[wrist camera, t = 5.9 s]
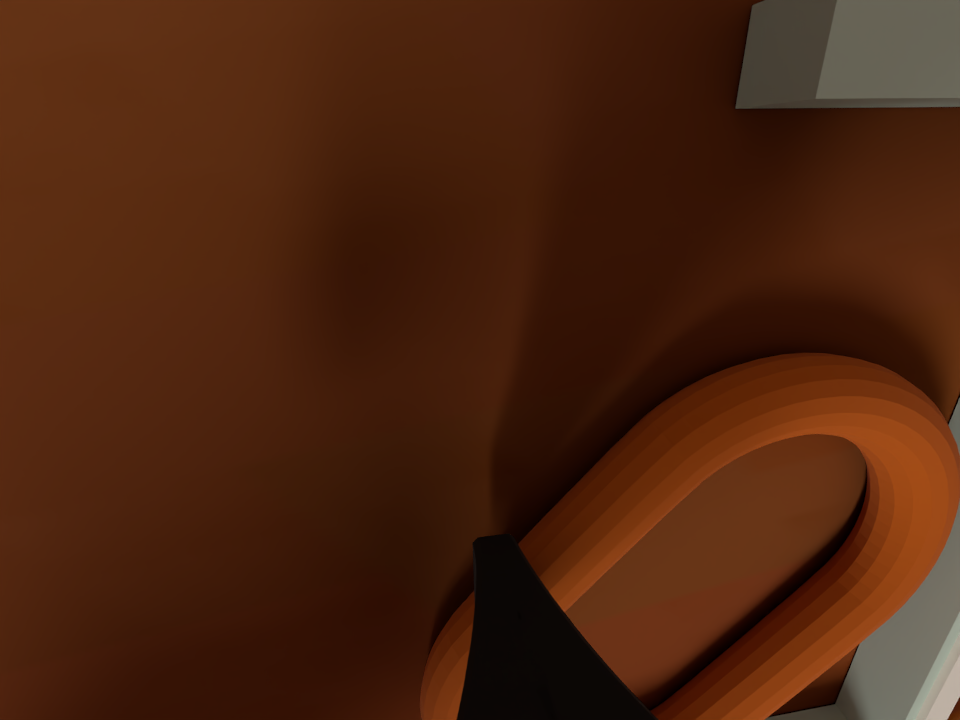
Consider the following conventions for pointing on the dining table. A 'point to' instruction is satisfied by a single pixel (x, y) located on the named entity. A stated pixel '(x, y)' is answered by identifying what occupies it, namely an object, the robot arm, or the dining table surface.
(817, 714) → the bar pull handle
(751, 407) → the orange oval ring
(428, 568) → the dining table surface
